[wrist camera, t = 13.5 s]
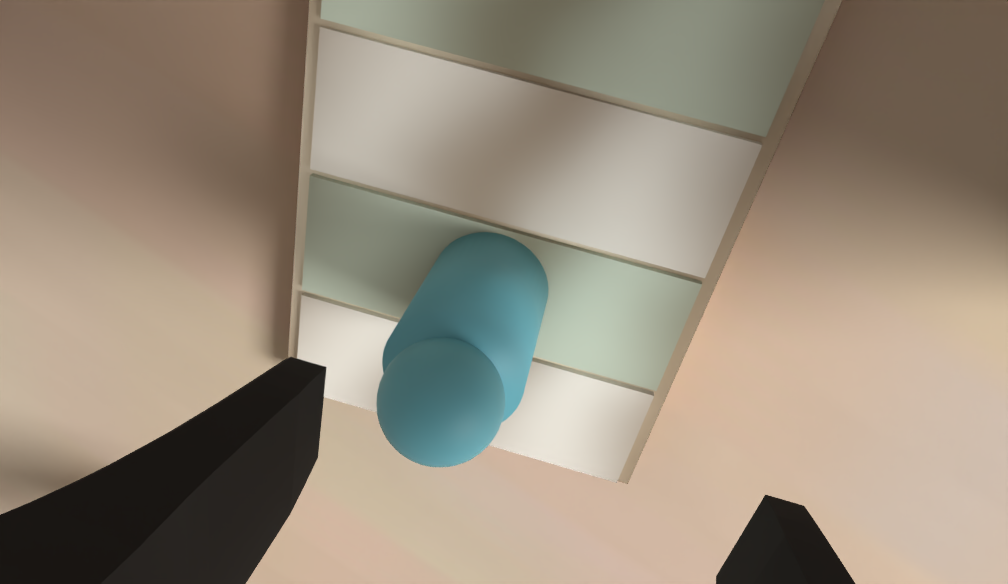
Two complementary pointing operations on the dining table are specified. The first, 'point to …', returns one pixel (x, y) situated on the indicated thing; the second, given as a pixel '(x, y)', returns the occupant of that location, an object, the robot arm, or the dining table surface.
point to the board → (540, 184)
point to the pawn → (462, 350)
